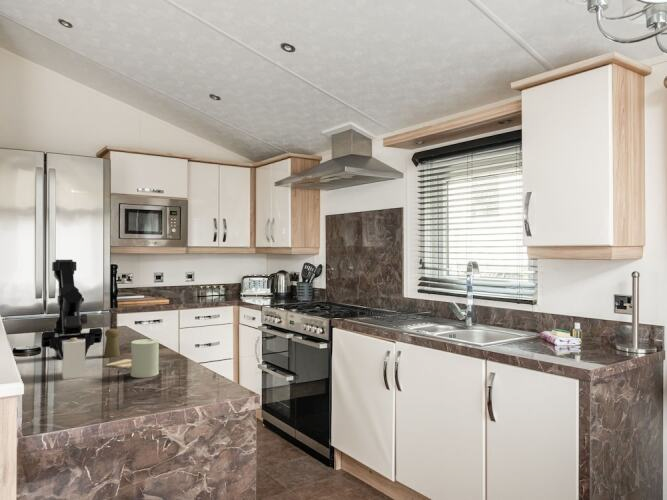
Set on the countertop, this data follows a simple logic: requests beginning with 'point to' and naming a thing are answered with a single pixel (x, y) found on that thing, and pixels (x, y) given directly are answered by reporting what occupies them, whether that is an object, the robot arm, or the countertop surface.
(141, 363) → the can
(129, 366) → the coaster
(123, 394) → the countertop surface
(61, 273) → the robot arm
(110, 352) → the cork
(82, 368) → the knobbed white block
